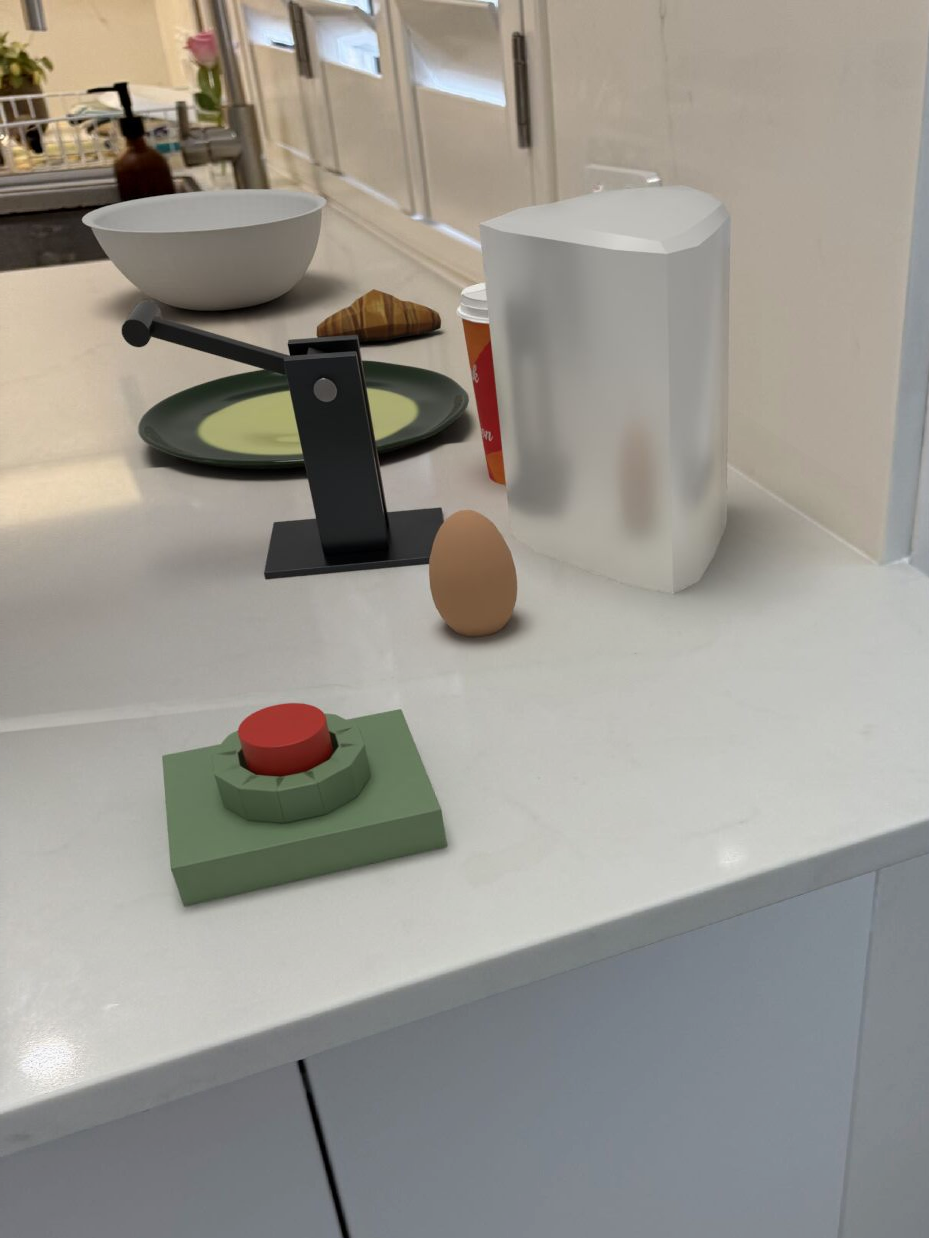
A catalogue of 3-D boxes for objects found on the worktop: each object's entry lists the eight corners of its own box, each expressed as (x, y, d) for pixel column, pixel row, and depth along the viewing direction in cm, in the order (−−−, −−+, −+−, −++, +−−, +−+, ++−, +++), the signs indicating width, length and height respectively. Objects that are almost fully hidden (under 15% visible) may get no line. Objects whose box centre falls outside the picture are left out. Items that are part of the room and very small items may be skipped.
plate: (213, 387, 117) (206, 360, 116) (496, 385, 116) (493, 358, 114) (89, 491, 96) (79, 460, 94) (436, 491, 94) (432, 459, 92)
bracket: (268, 591, 80) (215, 373, 72) (277, 539, 87) (230, 335, 79) (449, 573, 82) (419, 359, 73) (444, 523, 89) (416, 322, 80)
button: (250, 787, 55) (241, 754, 54) (242, 744, 58) (233, 712, 57) (338, 768, 56) (331, 736, 55) (326, 727, 59) (319, 696, 58)
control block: (183, 907, 54) (158, 835, 51) (173, 791, 61) (151, 723, 59) (447, 847, 57) (435, 776, 54) (407, 744, 64) (395, 677, 62)
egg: (503, 611, 77) (489, 488, 72) (536, 643, 73) (523, 516, 68) (426, 630, 75) (406, 505, 70) (456, 664, 71) (437, 535, 66)
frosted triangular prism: (503, 550, 84) (464, 193, 71) (640, 492, 93) (629, 162, 79) (664, 610, 76) (655, 220, 63) (798, 541, 85) (816, 182, 71)
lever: (119, 349, 72) (123, 308, 70) (133, 329, 76) (136, 289, 74) (344, 413, 76) (352, 375, 75) (346, 390, 80) (353, 354, 79)
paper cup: (510, 461, 99) (491, 274, 90) (592, 473, 96) (581, 282, 87) (457, 493, 93) (431, 297, 85) (542, 507, 91) (525, 306, 82)
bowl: (95, 340, 133) (65, 239, 127) (122, 286, 154) (97, 197, 148) (346, 320, 137) (329, 221, 131) (339, 270, 158) (324, 183, 152)
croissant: (435, 324, 135) (428, 275, 132) (450, 338, 130) (443, 288, 127) (313, 339, 131) (303, 289, 128) (324, 354, 126) (314, 302, 123)
